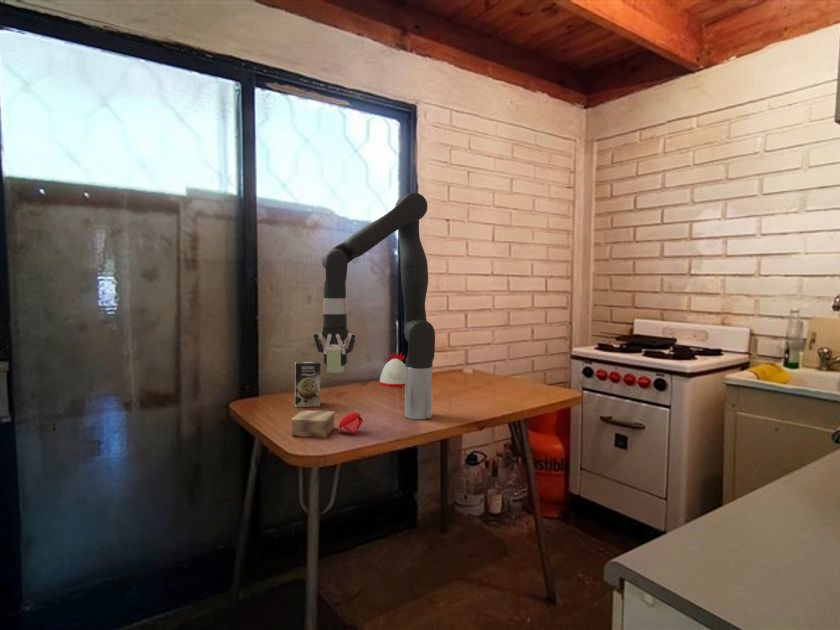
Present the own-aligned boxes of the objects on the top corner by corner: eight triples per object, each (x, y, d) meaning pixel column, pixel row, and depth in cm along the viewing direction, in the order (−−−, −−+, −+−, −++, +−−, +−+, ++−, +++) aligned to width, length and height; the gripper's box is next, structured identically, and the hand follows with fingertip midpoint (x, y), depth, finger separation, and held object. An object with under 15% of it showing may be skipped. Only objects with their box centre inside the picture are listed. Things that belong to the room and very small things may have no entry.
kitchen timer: (410, 388, 217) (410, 354, 216) (378, 387, 217) (379, 353, 216) (410, 381, 231) (410, 349, 230) (380, 381, 231) (381, 349, 230)
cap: (365, 418, 154) (349, 408, 154) (366, 417, 148) (349, 406, 148) (351, 441, 151) (334, 430, 152) (351, 440, 146) (334, 429, 146)
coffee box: (294, 407, 179) (294, 363, 178) (294, 403, 185) (294, 360, 184) (320, 406, 181) (320, 362, 180) (319, 402, 187) (319, 360, 186)
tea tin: (344, 370, 161) (344, 345, 161) (341, 372, 156) (340, 347, 156) (330, 369, 161) (330, 345, 161) (326, 372, 157) (326, 347, 156)
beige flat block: (335, 427, 155) (335, 411, 155) (326, 437, 145) (326, 420, 144) (302, 425, 156) (302, 410, 156) (290, 436, 145) (290, 419, 145)
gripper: (359, 311, 161) (359, 364, 162) (316, 311, 162) (317, 363, 163) (354, 313, 153) (355, 367, 155) (309, 313, 155) (310, 367, 156)
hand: (335, 365), depth 159 cm, fingers closed on tea tin, 4 cm apart
